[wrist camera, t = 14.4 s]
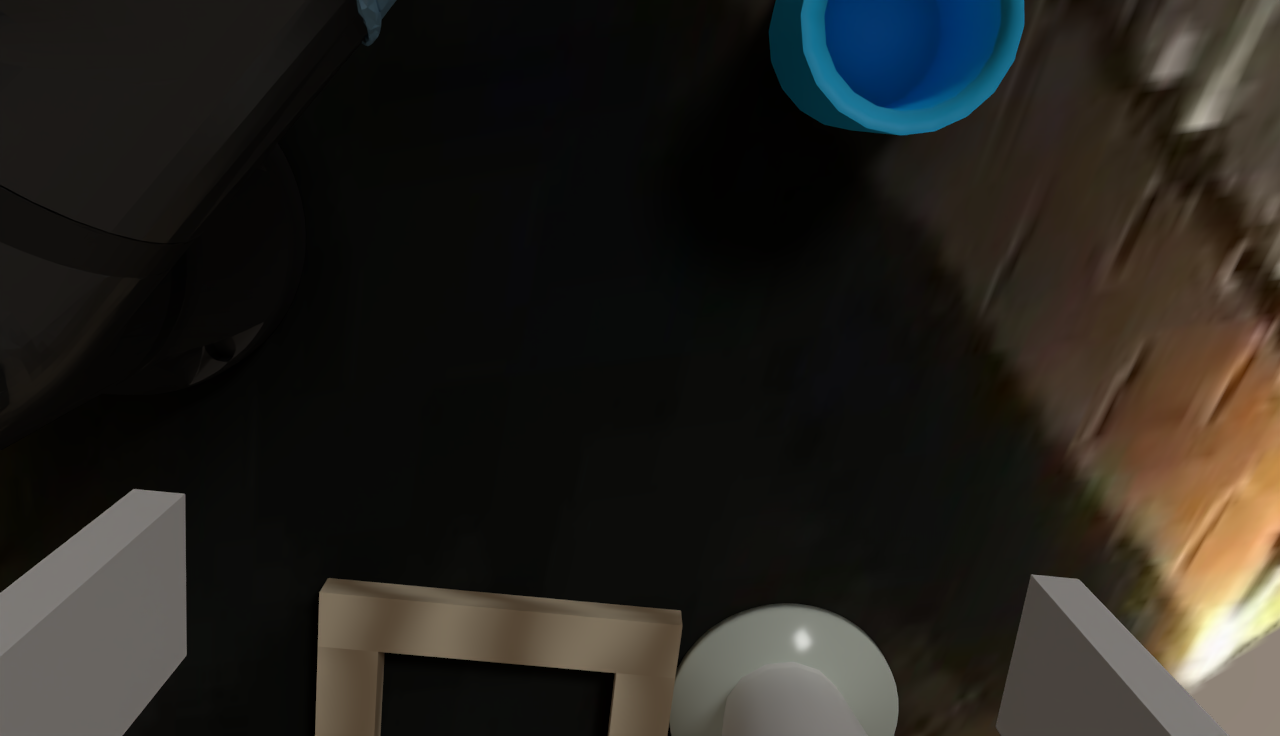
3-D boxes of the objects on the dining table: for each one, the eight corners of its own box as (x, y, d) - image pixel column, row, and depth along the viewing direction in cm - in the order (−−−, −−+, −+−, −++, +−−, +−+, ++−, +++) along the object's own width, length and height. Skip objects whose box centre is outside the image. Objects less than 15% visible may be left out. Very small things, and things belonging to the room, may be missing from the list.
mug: (828, 166, 45) (871, 178, 37) (733, 8, 43) (757, -15, 35) (1061, 12, 43) (1159, -9, 35) (973, -159, 41) (1055, -221, 33)
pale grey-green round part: (656, 792, 53) (656, 802, 52) (682, 592, 50) (684, 600, 49) (873, 810, 54) (877, 820, 53) (913, 614, 51) (917, 622, 50)
